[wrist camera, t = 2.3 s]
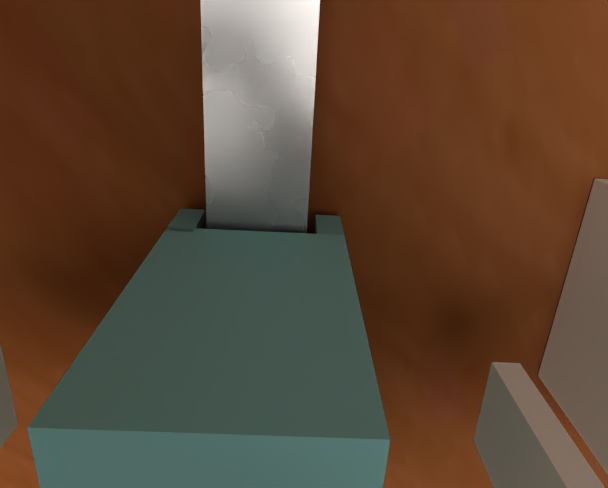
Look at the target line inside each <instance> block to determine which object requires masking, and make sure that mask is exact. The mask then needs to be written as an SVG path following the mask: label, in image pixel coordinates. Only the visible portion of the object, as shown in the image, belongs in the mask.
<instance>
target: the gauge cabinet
mask: <svg viewBox="0 0 608 488" xmlns="http://www.w3.org/2000/svg"><path fill="white" fill-rule="evenodd" d="M538 377H539V378H540V379H541V381H542V382H543V384H544V385H545V387H546V388H547V389H548V391H549V392H550V394H551V395H552V397H553V398H554V399H555V401H556V402H557V404H558V405H559V406H560V408H561V409H562V411H563V412H564V414H565V415H566V416H567V418H568V419H569V421H570V422H571V424H572V425H573V426H574V428H575V429H576V431H577V432H578V433H579V435H580V436H581V438H582V439H583V441H584V442H585V443H586V445H587V446H588V448H589V449H590V451H591V452H592V453H593V455H594V456H595V458H596V459H597V460H598V462H599V463H600V465H601V466H602V468H603V469H604V470H605V472H606V473H607V475H608V179H594V182H593V186H592V189H591V193H590V196H589V200H588V203H587V207H586V210H585V214H584V217H583V221H582V224H581V227H580V231H579V234H578V238H577V241H576V245H575V248H574V252H573V255H572V259H571V262H570V266H569V269H568V273H567V276H566V279H565V283H564V286H563V290H562V293H561V297H560V300H559V304H558V307H557V311H556V314H555V318H554V321H553V325H552V328H551V331H550V335H549V338H548V342H547V345H546V349H545V352H544V356H543V359H542V363H541V366H540V370H539V373H538Z"/></svg>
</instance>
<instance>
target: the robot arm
mask: <svg viewBox="0 0 608 488" xmlns="http://www.w3.org/2000/svg"><path fill="white" fill-rule="evenodd" d="M17 425H18V422H17V418H16V413H15V409H14V404H13V399H12V395H11V390H10V386H9V381H8V376H7V372H6V367H5V362H4V358H3V353H2V349H1V344H0V448H1V447H2V445H3V444H4V443H5V441H6V440H7V438H8V437H9V436H10V434H11V433H12V432H13V430H14V429H15V428H16V426H17ZM473 441H474V443H475V446H476V448H477V450H478V453H479V455H480V457H481V460H482V462H483V464H484V467H485V469H486V471H487V473H488V476H489V478H490V480H491V483H492V485H493V487H494V488H605V487H604V486H603V484H602V483H601V481H600V480H599V478H598V477H597V476H596V474H595V473H594V471H593V470H592V468H591V467H590V465H589V464H588V462H587V461H586V459H585V458H584V456H583V455H582V454H581V452H580V451H579V449H578V448H577V446H576V445H575V443H574V442H573V440H572V439H571V437H570V436H569V434H568V433H567V432H566V430H565V429H564V427H563V426H562V424H561V423H560V421H559V420H558V418H557V417H556V415H555V414H554V413H553V411H552V410H551V408H550V407H549V405H548V404H547V402H546V401H545V399H544V398H543V396H542V395H541V393H540V392H539V391H538V389H537V388H536V386H535V385H534V383H533V382H532V380H531V379H530V377H529V376H528V374H527V373H526V371H525V370H524V369H523V367H522V366H521V364H520V363H505V362H492V363H491V368H490V372H489V376H488V380H487V385H486V389H485V393H484V397H483V402H482V406H481V410H480V414H479V419H478V423H477V427H476V431H475V436H474V440H473Z"/></svg>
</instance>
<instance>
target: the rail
mask: <svg viewBox="0 0 608 488" xmlns="http://www.w3.org/2000/svg"><path fill="white" fill-rule="evenodd" d="M200 1H201V37H202V73H203V109H204V145H205V181H206V217H207V229H219V230H241V231H264V232H286V233H307V220H308V202H309V185H310V167H311V150H312V132H313V115H314V97H315V80H316V62H317V45H318V27H319V10H320V0H200Z"/></svg>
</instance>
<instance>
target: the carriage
mask: <svg viewBox="0 0 608 488" xmlns="http://www.w3.org/2000/svg"><path fill="white" fill-rule="evenodd" d="M27 429H28V434H29V439H30V443H31V448H32V452H33V457H34V462H35V466H36V471H37V475H38V480H39V485H40V488H383V483H384V477H385V470H386V464H387V457H388V451H389V444H390V437H389V432H388V428H387V423H386V419H385V414H384V410H383V405H382V401H381V396H380V392H379V388H378V383H377V379H376V374H375V370H374V365H373V361H372V356H371V352H370V348H369V343H368V339H367V334H366V330H365V325H364V321H363V316H362V312H361V307H360V303H359V299H358V294H357V290H356V285H355V281H354V276H353V272H352V267H351V263H350V259H349V254H348V250H347V245H346V241H345V236H344V232H343V227H342V223H341V219H340V216H333V215H315V231H314V234H309V233H286V232H264V231H241V230H219V229H206V227H205V210H202V209H180V210H179V211H178V212H177V214H176V215H175V217H174V218H173V220H172V221H171V222H170V224H169V225H168V227H167V228H166V230H165V231H164V233H163V234H162V235H161V237H160V238H159V240H158V241H157V243H156V244H155V245H154V247H153V248H152V250H151V251H150V253H149V254H148V255H147V257H146V258H145V260H144V261H143V263H142V264H141V265H140V267H139V268H138V270H137V271H136V273H135V274H134V275H133V277H132V278H131V280H130V281H129V283H128V284H127V285H126V287H125V288H124V290H123V291H122V293H121V294H120V295H119V297H118V298H117V300H116V301H115V303H114V304H113V305H112V307H111V308H110V310H109V311H108V313H107V314H106V316H105V317H104V318H103V320H102V321H101V323H100V324H99V326H98V327H97V328H96V330H95V331H94V333H93V334H92V336H91V337H90V338H89V340H88V341H87V343H86V344H85V346H84V347H83V348H82V350H81V351H80V353H79V354H78V356H77V357H76V358H75V360H74V361H73V363H72V364H71V366H70V367H69V368H68V370H67V371H66V373H65V374H64V376H63V377H62V378H61V380H60V381H59V383H58V384H57V386H56V387H55V388H54V390H53V391H52V393H51V394H50V396H49V397H48V399H47V400H46V401H45V403H44V404H43V406H42V407H41V409H40V410H39V411H38V413H37V414H36V416H35V417H34V419H33V420H32V421H31V423H30V424H29V426H28V427H27Z"/></svg>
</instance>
